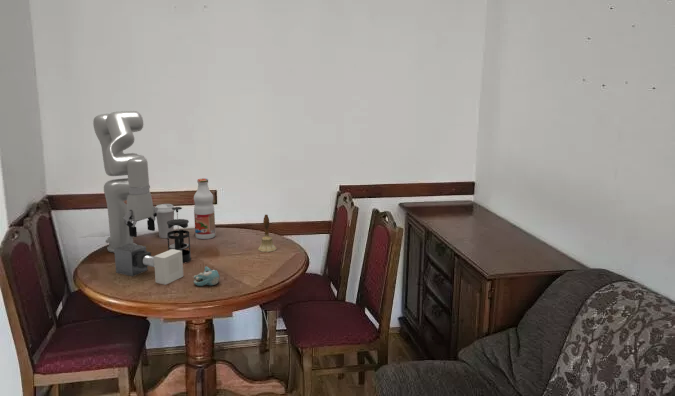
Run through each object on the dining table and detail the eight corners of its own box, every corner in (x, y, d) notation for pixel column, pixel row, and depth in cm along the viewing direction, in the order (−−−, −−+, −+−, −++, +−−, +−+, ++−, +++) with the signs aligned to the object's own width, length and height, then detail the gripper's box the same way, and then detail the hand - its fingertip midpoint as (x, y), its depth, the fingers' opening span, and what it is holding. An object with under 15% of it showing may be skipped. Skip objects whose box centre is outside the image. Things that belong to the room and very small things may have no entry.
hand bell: (254, 250, 270) (253, 216, 266) (263, 245, 277) (262, 211, 274) (271, 253, 267) (270, 218, 263) (279, 247, 274) (279, 213, 271)
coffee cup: (173, 239, 286) (171, 208, 283) (153, 239, 287) (151, 208, 283) (179, 233, 296) (177, 203, 292) (159, 233, 296) (157, 203, 293)
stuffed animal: (204, 262, 239) (225, 262, 231) (208, 280, 240) (228, 281, 232) (183, 269, 230) (203, 270, 223) (186, 288, 231) (207, 289, 224)
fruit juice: (218, 237, 290) (216, 179, 284) (200, 240, 284) (197, 182, 278) (210, 232, 297) (207, 176, 291) (192, 236, 292) (189, 178, 285)
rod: (116, 263, 243) (115, 250, 242) (126, 259, 247) (125, 247, 246) (152, 270, 235) (151, 257, 233) (161, 266, 239) (161, 254, 238)
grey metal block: (116, 272, 242) (114, 248, 240) (130, 266, 249) (129, 243, 247) (133, 276, 238) (131, 252, 236) (147, 270, 245) (146, 246, 243)
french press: (189, 264, 252) (186, 210, 247) (166, 264, 252) (162, 210, 246) (193, 255, 264) (190, 203, 259) (171, 255, 263) (168, 204, 258)
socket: (155, 282, 232) (153, 256, 229) (173, 274, 240) (171, 249, 238) (165, 284, 230) (164, 258, 227) (183, 276, 238) (181, 250, 236)
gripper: (148, 185, 242) (151, 227, 246) (114, 193, 227) (118, 237, 230) (162, 187, 239) (165, 229, 242) (129, 195, 223) (133, 240, 227)
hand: (142, 233), depth 236 cm, fingers open, 9 cm apart
